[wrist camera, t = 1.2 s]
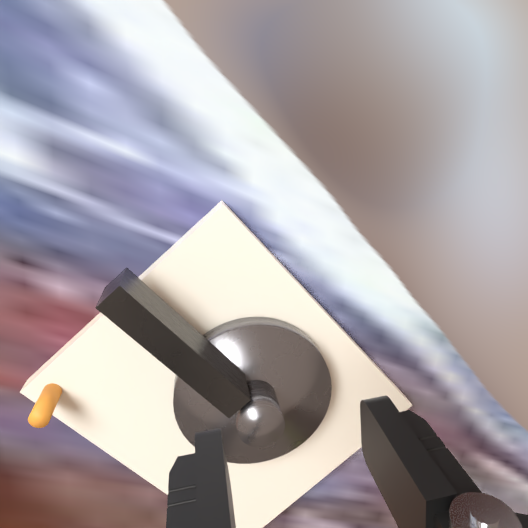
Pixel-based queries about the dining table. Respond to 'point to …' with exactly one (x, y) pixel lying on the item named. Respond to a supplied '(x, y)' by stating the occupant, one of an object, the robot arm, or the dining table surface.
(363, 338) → the dining table surface
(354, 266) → the dining table surface
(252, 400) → the dial
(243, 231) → the dial base
